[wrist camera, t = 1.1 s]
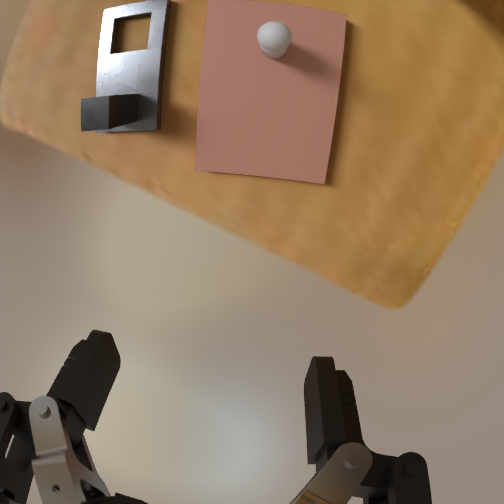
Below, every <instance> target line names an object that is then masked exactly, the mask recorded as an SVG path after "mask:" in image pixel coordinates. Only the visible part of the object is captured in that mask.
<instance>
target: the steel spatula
mask: <svg viewBox="0 0 504 504" xmlns="http://www.w3.org/2000/svg"><path fill="white" fill-rule="evenodd" d="M170 7H171V1H170V0H151V1H144V2H138V3H133V4H127V5H122V6H118V7H113V8H109V9H105V10H104V14H103V21H102V28H101V36H100V44H99V55H98V67H97V84H96V97H92V98H85V99H81V131H92V130H96V133H99V132H117V131H156V130H159V129H160V125H161V100H162V83H163V69H164V57H165V47H166V38H167V29H168V21H169V14H170ZM149 15H151V22H150V30H149V38H148V48H147V49H146V50H137V51H130V52H123V53H116V54H115V52H116V42H117V33H118V26H119V20H124V19H129V18H135V17H142V16H149Z"/></svg>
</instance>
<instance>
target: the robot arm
mask: <svg viewBox="0 0 504 504" xmlns="http://www.w3.org/2000/svg"><path fill="white" fill-rule="evenodd" d="M119 368H120V355H119V352H118V350H117V347H116V345H115V342H114V339H113V337H112V334H111V333H108V332H103V331H99V330H93V331H92V332H91V333H90V334H89V336H88V338H87V340H83V339H82V340H81V341H80V342H79V343H78V344H77V345H75V346H74V347H73V349H72V350H71V352H70V354H69V356H68V358H67V359H66V361H65V363H64V366H62V368H61V370H60V372H59V374H58V375H57V377H56V379H55V381H54V383H53V384H52V386H51V388H50V390H49V392H48V394H47V395H46V396H40V397H38V398H36V399H35V400H34V401H33V402H24V401H16V400H15V399H14V398H13V397H12V396H11V395H10V394H9V393H7V392H2V393H0V504H26V501H27V497H28V493H29V489H30V486H31V482H32V479H33V475H34V476H35V479H36V483H37V486H38V490H39V493H40V496H41V499H42V502H43V504H147V503H146V502H144V501H142V500H138V499H135V498H131V497H128V496H125V495H122V494H119V493H116V494H115V496H111V495H110V493H109V491H108V489H107V487H106V485H105V483H104V482H103V480H102V479H101V478H100V476H99V475H98V473H97V471H96V468H95V465H94V463H93V460H92V457H91V455H90V452H89V449H88V446H87V443H86V440H85V437H84V435H83V433H84V430H85V428H86V429H89V430H92V431H94V430H95V428H96V425H97V422H98V420H99V417H100V415H101V412H102V410H103V407H104V405H105V402H106V400H107V397H108V395H109V392H110V390H111V388H112V385H113V383H114V381H115V378H116V376H117V373H118V371H119ZM304 401H305V417H306V435H307V456H308V464H316V474H315V475H314V476H313V477H312V478H311V479H310V481H309V482H308V483H307V484H306V485H305V487H304V488H303V489H302V490H301V491H300V492H299V494H298V495H297V496H296V497H295V498H294V499H293V500H292V502H291V503H290V504H347V502H348V501H349V500H350V498H351V497H352V496H354V497H360V498H363V504H432V500H431V490H430V483H429V477H428V469H427V464H426V461H425V459H424V458H423V457H422V456H421V455H419V454H417V453H414V452H407V453H404V454H402V455H401V456H399V457H394V456H387V455H382V454H377V453H375V452H373V451H371V450H370V449H369V448H368V447H367V446H366V445H365V443H364V441H363V439H362V434H361V427H360V422H359V416H358V410H357V405H356V400H355V395H354V389H353V384H352V381H351V379H350V378H349V376H348V375H347V373H346V372H345V371H344V370H335V364H334V359H333V357H315V356H314V357H313V358H312V360H311V363H310V366H309V369H308V372H307V375H306V378H305V382H304ZM12 434H13V435H15V436H14V438H13V441H12V444H11V447H10V449H9V452H8V455H7V458H6V459H5V453H6V450H7V448H8V445H9V442H10V440H11V437H12Z"/></svg>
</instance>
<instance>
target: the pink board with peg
mask: <svg viewBox="0 0 504 504" xmlns="http://www.w3.org/2000/svg"><path fill="white" fill-rule="evenodd" d="M346 17H347V15H346V14H341V13H337V12H333V11H328V10H323V9H317V8H312V7H306V6H299V5H292V4H284V3H275V2H264V1H248V0H209V2H208V9H207V17H206V25H205V34H204V43H203V53H202V63H201V74H200V86H199V99H198V115H197V132H196V154H195V171H209V172H222V173H234V174H244V175H254V176H264V177H273V178H281V179H289V180H297V181H305V182H312V183H319V184H324V183H325V178H326V172H327V167H328V161H329V155H330V149H331V142H332V136H333V129H334V123H335V116H336V109H337V102H338V94H339V86H340V78H341V69H342V60H343V51H344V41H345V30H346Z"/></svg>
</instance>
